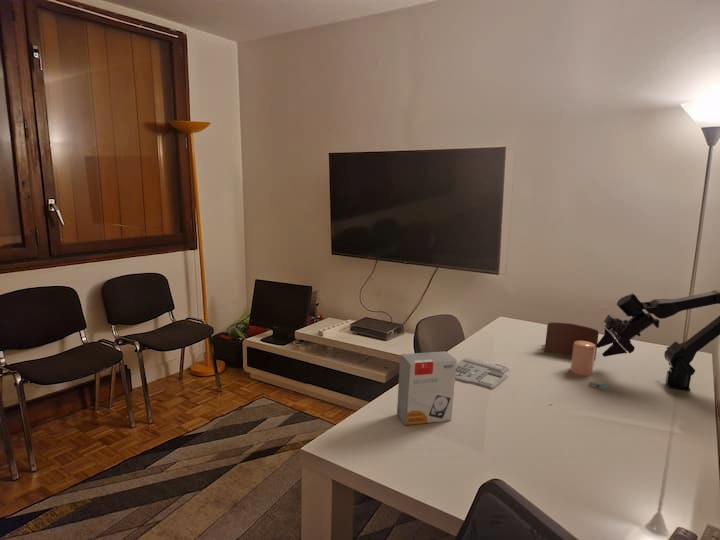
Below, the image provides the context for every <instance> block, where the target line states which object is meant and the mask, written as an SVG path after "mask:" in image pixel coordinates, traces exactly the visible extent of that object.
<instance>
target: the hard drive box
mask: <svg viewBox="0 0 720 540" xmlns="http://www.w3.org/2000/svg"><path fill="white" fill-rule="evenodd" d="M399 356H400V357H399V371H398V372H399V373H398V375H399V376H398V389H397V390H398V391H397V404H396V405H397V406H396V415H397V416H398V417H399V419H400V420H401V422H402V424H404V426H409V425H410V426H411V425H414V424H417V425H421V424H427V423H443V422H449V421H452V415H453V406H454V396H455V395H454V393H455V383H456V382H455V381H456V380H455V373H456V364H457V363H458V362H457V359H456V358H455V357H454V356H453V355H452V354H450V353H449V352H447V351H431V352H430V351H429V352H416V353H403V354H402V353H401V354H400V355H399Z"/></svg>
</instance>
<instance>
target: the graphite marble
mask: <svg viewBox="0 0 720 540" xmlns="http://www.w3.org/2000/svg"><path fill="white" fill-rule="evenodd" d="M598 386H599V384H598V382H595V381H590V382H589V383H588V387H590V388H592V389H597V388H599V387H598Z"/></svg>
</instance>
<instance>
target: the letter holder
mask: <svg viewBox="0 0 720 540" xmlns="http://www.w3.org/2000/svg"><path fill="white" fill-rule="evenodd" d="M599 334H600V333H599V330H597V329H595V328H592V327H588V326H584V325H579V324H574V323H568V322H566V323H565V322H552V321H551V322H548V323H547V327H546V335H545V345H544V353H546V352H547V353H551V354H556V355H561V356H565V357H566V356H567V357H571V358H572V352H573V344H574V342H575V341H587V342H591V343H593V344H595V345H597V344H598V342H599ZM597 349H598V348H597V347H596V350H595V358H594V362H595V361H596V357H597V356H596V355H597Z"/></svg>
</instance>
